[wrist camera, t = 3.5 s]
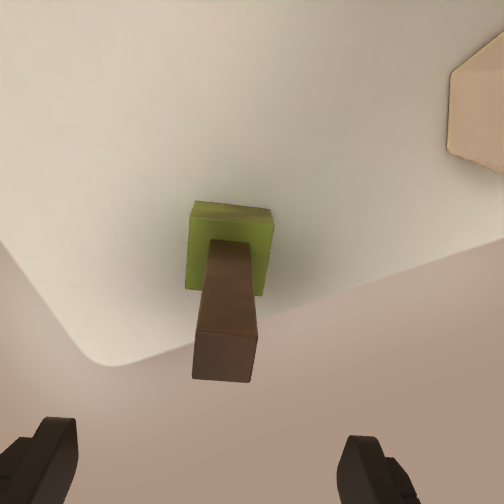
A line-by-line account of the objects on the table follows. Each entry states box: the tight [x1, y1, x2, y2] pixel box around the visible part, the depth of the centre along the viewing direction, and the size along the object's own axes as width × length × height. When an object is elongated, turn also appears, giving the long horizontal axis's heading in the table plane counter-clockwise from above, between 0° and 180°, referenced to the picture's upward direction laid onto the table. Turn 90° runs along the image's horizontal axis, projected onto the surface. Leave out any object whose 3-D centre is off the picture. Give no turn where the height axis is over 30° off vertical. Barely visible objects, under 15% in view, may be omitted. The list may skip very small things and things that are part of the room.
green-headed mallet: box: [185, 201, 274, 383], centre depth 20 cm, size 5×5×12 cm
